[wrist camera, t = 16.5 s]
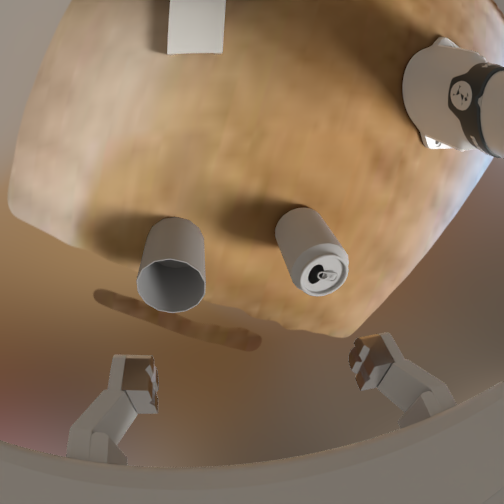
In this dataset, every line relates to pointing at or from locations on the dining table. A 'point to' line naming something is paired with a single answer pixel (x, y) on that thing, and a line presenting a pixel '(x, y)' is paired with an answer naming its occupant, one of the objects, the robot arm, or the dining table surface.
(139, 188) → the dining table surface
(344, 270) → the can
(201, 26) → the white and orange box
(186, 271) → the cup
